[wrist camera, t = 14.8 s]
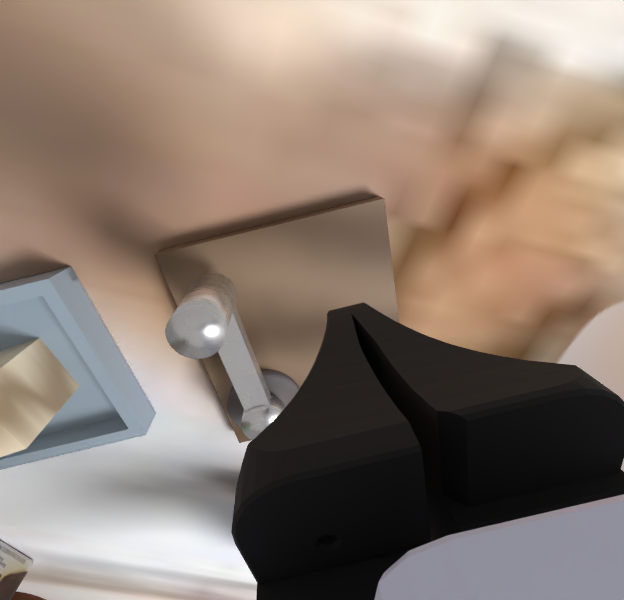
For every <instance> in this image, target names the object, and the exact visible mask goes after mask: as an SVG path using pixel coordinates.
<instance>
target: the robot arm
mask: <svg viewBox="0 0 624 600" xmlns="http://www.w3.org/2000/svg"><path fill="white" fill-rule="evenodd" d="M623 458H624V401H623V400H622V399H621V398H620V397H619V396H618V395H616V394H615V393H613V392H612V391H611V390H609V389H608V388H607V387H605V386H604V385H603V384H601V383H600V382H598V381H597V380H596V379H594V378H593V377H591V376H590V375H589V374H587V373H586V372H584V371H583V370H582V369H580V368H578V367H577V366H575V365H565V364H557V363H547V362H537V361H527V360H520V359H514V358H508V357H502V356H497V355H492V354H487V353H482V352H478V351H474V350H470V349H466V348H462V347H458V346H455V345H452V344H448V343H445V342H442V341H440V340H437V339H434V338H431V337H428V336H426V335H423V334H421V333H419V332H416V331H414V330H412V329H410V328H408V327H406V326H404V325H402V324H400V323H398V322H396V321H394V320H392V319H391V318H389V317H387V316H385V315H384V314H382V313H380V312H379V311H377V310H376V309H374V308H372V307H371V306H369V305H368V304H366V303H364V302H363V303H359V304H355V305H351V306H346V307H342V308H338V309H334V310H330V311H329V312H328V313H327V325H326V330H325V334H324V337H323V341H322V344H321V347H320V350H319V352H318V355H317V357H316V360H315V362H314V364H313V366H312V368H311V370H310V372H309V374H308V376H307V377H306V379H305V381H304V382H303V384H302V385H301V387H300V389H299V390H298V392H297V393H296V395H295V396H294V397H293V399H292V400H291V401H290V402H289V404H288V405H287V406H286V407H285V408H284V410H283V411H282V412H281V413H280V414H279V415H278V416H277V417H276V418H275V419H274V421H273V422H271V423H270V424H269V425H268V426H267V427H266V428H265V429H264V430H263V431H262V432H261V433H260V434H259V435H258V436H257V437H256V438H255V439H253V440H252V441H251V442H250V443H249V444H248V446H247V449H246V452H245V456H244V459H243V463H242V467H241V471H240V474H239V478H238V483H237V488H236V495H235V505H234V514H233V523H232V535H233V538H234V541H235V544H236V546H237V548H238V550H239V551H240V553H241V555H242V557H243V558H244V560H245V562H246V564H247V565H248V567H249V569H250V571H251V572H252V574H253V576H254V578H255V579H256V581H257V600H624V472H623V471H622V470H621V466H622V462H623Z"/></svg>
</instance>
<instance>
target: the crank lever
mask: <svg viewBox="0 0 624 600" xmlns="http://www.w3.org/2000/svg"><path fill="white" fill-rule="evenodd" d="M236 298H237V291H236V287H235V285H234V284H233V282H232V281H231V280H230V279H229V278H228V277H226V276H224V275H222V274H219V273H205V274H203V275H201V276H199V277H198V278H197V279H196V280H195V281H194V283H193V284H192V286H191V287H190V289H189V290H188V292H187V293H186V295H185V297H184V298H183V300H182V301H181V303H180V304H179V306H178V307H177V309H176V310H175V312H174V313H173V315H172V316H171V318H170V319H169V321H168V323H167V325H166V330H165V333H166V338H167V341H168V343H169V344H170V346H171V347H172V348H173V349H174V350H175V351H176V352H178V353H179V354H181V355H183V356H185V357H189V358H194V359H201V358H207V357H210V356H212V355H214V354H215V353H216V352H218V353H219V355H220V357H221V360H222V362H223V364H224V366H225V368H226V371H227V373H228V375H229V377H230V379H231V382H232V384H233V386H234V388H235V391H236V393H237V395H238V397H239V399H240V402H241V404H242V406H243V408H244V409H243V416H242V423H241V429H242V431H243V433H244V434H245V436H246V437H248V438H249V439H251V440H253V439H255V438H256V437H257V436H258V435H259V434H260V433H261V432H262V431H263V430H264V429H265V428H266V427H267V426H268V425H269V424H270V423H271V422H273V421H274V419H275V418H276V417H277V416H278V415H279V414H280V413H281V412H282V411H283V410H284V408H285V405H284V403H283V402H282V401H281V400H280V399H279V398H277V397H275V396H273V395H270V392H269V390H268V387H267V385H266V382H265V379H264V377H263V374H262V372H261V369H260V367H259V364H258V362H257V359H256V357H255V354H254V352H253V349H252V346H251V344H250V341H249V339H248V336H247V334H246V331H245V329H244V326H243V324H242V321H241V319H240V316H239V314H238V311H237V308H236V306H235V302H236Z"/></svg>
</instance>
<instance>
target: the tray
mask: <svg viewBox="0 0 624 600" xmlns="http://www.w3.org/2000/svg"><path fill="white" fill-rule="evenodd" d="M37 338H40V339H41V340H42V341H43V342H44V343H45V345H46V346H47V347H48V348H49V349H50V351H51V352H52V353H53V354H54V356H55V357H56V358H57V359H58V360H59V362H60V363H61V364H62V365H63V366H64V368H65V369H66V370H67V371H68V372H69V374H70V375H71V376H72V377H73V379H74V380H75V381H76V382H77V383H78V385H79V388H78V389H77V390H76V391H75V392H74V393H73V395H72V396H71V397H70V398H69V399H68V400H67V402H66V403H65V404H64V405H63V406H62V408H61V409H60V410H59V411H58V412H57V413H56V415H55V416H54V417H53V418H52V419H51V420H50V422H49V423H48V424H47V425H46V426H45V428H44V429H43V430H42V431H41V432H40V433H39V435H38V436H37V437H36V438H35V439H34V440H33V442H32V443H31V444H30V445H29V446H28V448H27V449H24V450H21V451H18V452H15V453H12V454H9V455H6V456H3V457H0V470H1V469H5V468H9V467H13V466H17V465H22V464H26V463H30V462H34V461H38V460H42V459H47V458H51V457H55V456H59V455H63V454H68V453H72V452H76V451H80V450H84V449H88V448H93V447H97V446H101V445H105V444H109V443H114V442H118V441H122V440H126V439H130V438H134V437H139V436H143V435H146V433H147V431H148V429H149V427H150V425H151V423H152V420H153V418H154V416H155V414H156V412H155V410H154V409H153V407H152V405H151V404H150V402H149V400H148V398H147V397H146V395H145V393H144V391H143V390H142V388H141V386H140V385H139V383H138V381H137V379H136V378H135V376H134V374H133V373H132V371H131V369H130V367H129V366H128V364H127V362H126V360H125V359H124V357H123V355H122V354H121V352H120V350H119V348H118V347H117V345H116V343H115V341H114V340H113V338H112V336H111V335H110V333H109V331H108V329H107V328H106V326H105V324H104V322H103V321H102V319H101V317H100V316H99V314H98V312H97V310H96V309H95V307H94V305H93V303H92V302H91V300H90V298H89V297H88V295H87V293H86V291H85V290H84V288H83V286H82V284H81V283H80V281H79V279H78V278H77V276H76V274H75V272H74V271H73V269H72V267H71V266H70V267H66V268H62V269H58V270H54V271H50V272H46V273H42V274H38V275H33V276H29V277H25V278H21V279H17V280H13V281H9V282H5V283H1V284H0V351H2V350H5V349H8V348H11V347H14V346H17V345H20V344H23V343H26V342H29V341H31V340H34V339H37Z"/></svg>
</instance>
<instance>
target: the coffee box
mask: <svg viewBox="0 0 624 600" xmlns="http://www.w3.org/2000/svg"><path fill="white" fill-rule="evenodd" d="M32 564H33V560H31V559H30V558H28V557H26V556H25V555H23V554H21V553H20V552H18V551H17V550H15V549H13V548H12V547H10V546H9V545H7V544H5V543H4V542H2V541H0V600H11V598H12V596H13V595H14V593H15V592H16V590H17V588H18V587H19V585H20V583H21V582H22V580H23V578H24V577H25V575H26V574H27V572H28V570H29V569H30V567H31V566H32Z"/></svg>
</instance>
